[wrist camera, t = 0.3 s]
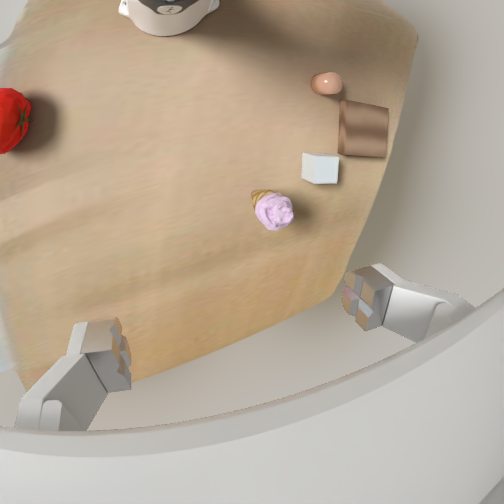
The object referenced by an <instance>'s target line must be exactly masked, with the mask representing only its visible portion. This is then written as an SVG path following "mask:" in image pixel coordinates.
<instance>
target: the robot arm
mask: <svg viewBox="0 0 504 504" xmlns="http://www.w3.org/2000/svg"><path fill="white" fill-rule="evenodd" d="M125 4H126V5H125ZM218 7H219V0H122V1H121V4H120V7H119V13H120V14H121V15H123V16H125V17H127V18H130V19H131V20H132V21H133V22H134V24H135V25H136V26H137V27H138V28H139V29H141V30H142V31H144V32H146V33H148V34H151V35H156V36H171V35H176V34H180V33H183V32H185V31H187V30H189V29H191V28H192V27H194V26H195V25H196V24H198V23H199V22H200V20H201V19H202V18H203V17H204V16H205V15H206V14H208V13H210V12H212V11H214V10H216V9H217V8H218ZM344 282H345V284H346V285H347V286H346V287H345V289H344V290H343V292H342V303H343V307H344V308H345V310H346V312H347V313H348V314H349V315H352V316H355V320H356V322H357V323H358V324H359V326H360V327H361V328H362V329H363V330H364V331H368V330H371V329H374V328H377V327H380V326H382V325H383V327H385V328H387V329H389V330H391V331H393V332H395V333H397V334H400V335H402V336H404V337H406V338H408V339H410V340H412V341H414V342H416V344H414V345H412V346H410V347H408V348H406V349H404V350H402V351H400V352H398V353H396V354H394V355H392V356H390V357H387V358H385V359H383V360H381V361H379V362H377V363H375V364H372V365H370V366H368V367H365V368H363V369H361V370H358V371H356V372H354V373H351V374H349V375H346V376H344V377H341V378H339V379H336V380H333V381H331V382H328V383H325V384H323V385H320V386H317V387H314V388H311V389H309V390H306V391H303V392H300V393H297V394H294V395H290V396H287V397H284V398H281V399H277V400H274V401H271V402H267V403H264V404H260V405H256V406H253V407H249V408H245V409H241V410H237V411H233V412H228V413H224V414H219V415H215V416H210V417H205V418H200V419H194V420H189V421H183V422H177V423H171V424H163V425H156V426H148V427H138V428H129V429H115V430H97V431H87V429H88V427H89V425H90V424H91V422H92V420H93V418H94V417H95V415H96V413H97V411H98V410H99V408H100V406H101V405H102V403H103V402H104V400H105V398H106V397H107V395H108V393H109V392H117V391H124V390H131V373H130V371H129V366H130V365H131V353H130V348H129V345H128V342H127V339H126V337H125V336H123V335H122V334H121V333H122V326H121V324H120V321H119V319H118V318H117V317H115V318H107V319H99V320H91V321H83V322H77V323H76V324H75V325H74V328H73V331H72V335H71V338H70V342H69V346H68V350H67V354H66V356H62V357H61V358H60V359H59V360H58V361H57V362H56V363H55V364H54V365H53V366H52V367H51V368H50V369H49V370H48V371H47V372H46V373H45V374H44V375H43V376H42V377H41V378H40V379H39V380H38V381H37V382H36V383H35V384H34V385H33V386H32V387H31V389H30V390H29V391H28V392H27V393H26V394H25V395H24V396H23V397H22V398H21V400H20V404H19V409H18V413H17V417H16V422H15V426H14V428H9V427H1V426H0V504H504V289H503V290H501V291H500V292H498V293H497V294H495V295H494V296H493V297H491V298H490V299H489V300H487V301H486V302H484V303H483V304H481V305H480V306H478V307H477V308H475V307H473V306H472V305H471V304H469V303H468V302H467V301H466V300H464V299H463V298H462V297H460V296H459V295H458V294H455V293H451V292H448V291H444V290H440V289H437V288H433V287H429V286H426V285H422V284H419V283H415V282H411V281H404V280H403V279H401V278H400V277H399V276H398V275H396V274H395V273H394V272H392V271H391V270H390V269H388V268H387V267H386V266H384V265H383V264H381V263H376V264H373V265H369V266H367V267H363V268H359V269H355V270H351V271H348V272H347V273H346V275H345V278H344Z"/></svg>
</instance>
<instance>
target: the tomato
mask: <svg viewBox="0 0 504 504" xmlns="http://www.w3.org/2000/svg"><path fill="white" fill-rule="evenodd" d="M30 111H31V105H30V102H29V101H28V100H27V99H25V98H24V97H23V95H22V94H21V93H20V92H18V91H16V90H14V89H12V88H1V89H0V154H4V153H6V152H8V151H10V150H11V149H12V148H14V147H15V146H16V145H17V144H18V143H19V142H20V141H21V142H22V138H23V137H24V135H25V134H26V133H27V130H28V125H29V123H28V121H33V120H31V119H28V116H29V113H30Z"/></svg>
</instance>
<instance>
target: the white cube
mask: <svg viewBox="0 0 504 504" xmlns="http://www.w3.org/2000/svg"><path fill="white" fill-rule="evenodd" d="M338 165H339V157H337V156H333V155H330V154H326V153H303V160H302V179H305V180H307V181H309V182H311V183H314V184H321V183H337V178H338Z"/></svg>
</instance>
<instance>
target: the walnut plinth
mask: <svg viewBox="0 0 504 504" xmlns="http://www.w3.org/2000/svg"><path fill="white" fill-rule="evenodd" d="M387 130H388V108H384V107H379V106H374V105H370V104H365V103H359V102H354V101H348V100H344V101H340V116H339V139H338V153H340V154H344V155H358V156H372V157H384V158H385V157H386V145H387Z"/></svg>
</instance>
